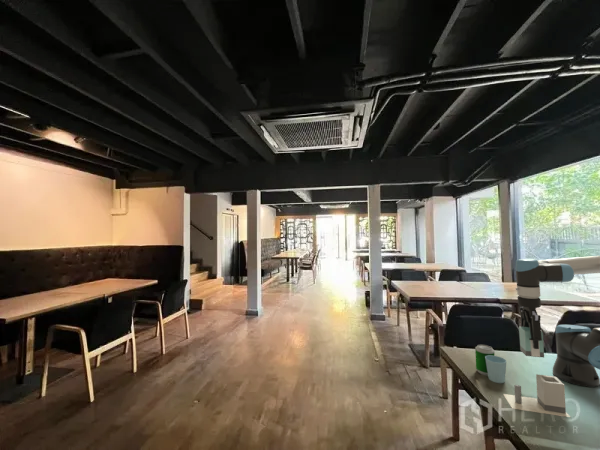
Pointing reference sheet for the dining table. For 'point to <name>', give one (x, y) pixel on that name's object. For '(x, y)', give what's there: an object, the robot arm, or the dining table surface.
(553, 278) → the robot arm
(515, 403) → the pin board
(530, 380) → the dining table surface
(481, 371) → the soda can
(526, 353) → the teal sleeve
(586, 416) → the dining table surface
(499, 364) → the cup
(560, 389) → the grey sleeve
